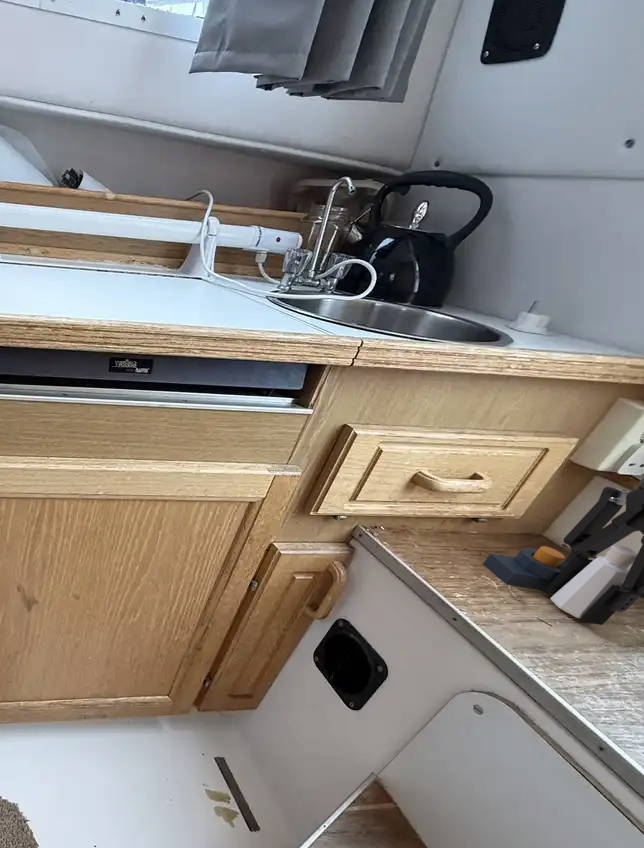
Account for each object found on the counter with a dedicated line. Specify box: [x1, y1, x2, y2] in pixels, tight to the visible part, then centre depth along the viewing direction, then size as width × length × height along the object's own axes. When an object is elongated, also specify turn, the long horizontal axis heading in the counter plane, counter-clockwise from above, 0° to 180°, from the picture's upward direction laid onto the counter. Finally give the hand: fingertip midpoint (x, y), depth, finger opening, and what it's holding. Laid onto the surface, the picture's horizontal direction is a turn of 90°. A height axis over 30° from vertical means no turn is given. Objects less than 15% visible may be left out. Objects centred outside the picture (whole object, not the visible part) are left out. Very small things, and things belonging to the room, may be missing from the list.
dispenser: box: [482, 547, 563, 592], centre depth 87 cm, size 12×6×4 cm, turn 88°
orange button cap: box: [533, 545, 566, 568], centre depth 85 cm, size 3×3×2 cm
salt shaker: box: [550, 544, 638, 619], centre depth 79 cm, size 5×5×11 cm
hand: (572, 606), depth 81 cm, fingers closed on salt shaker, 5 cm apart
